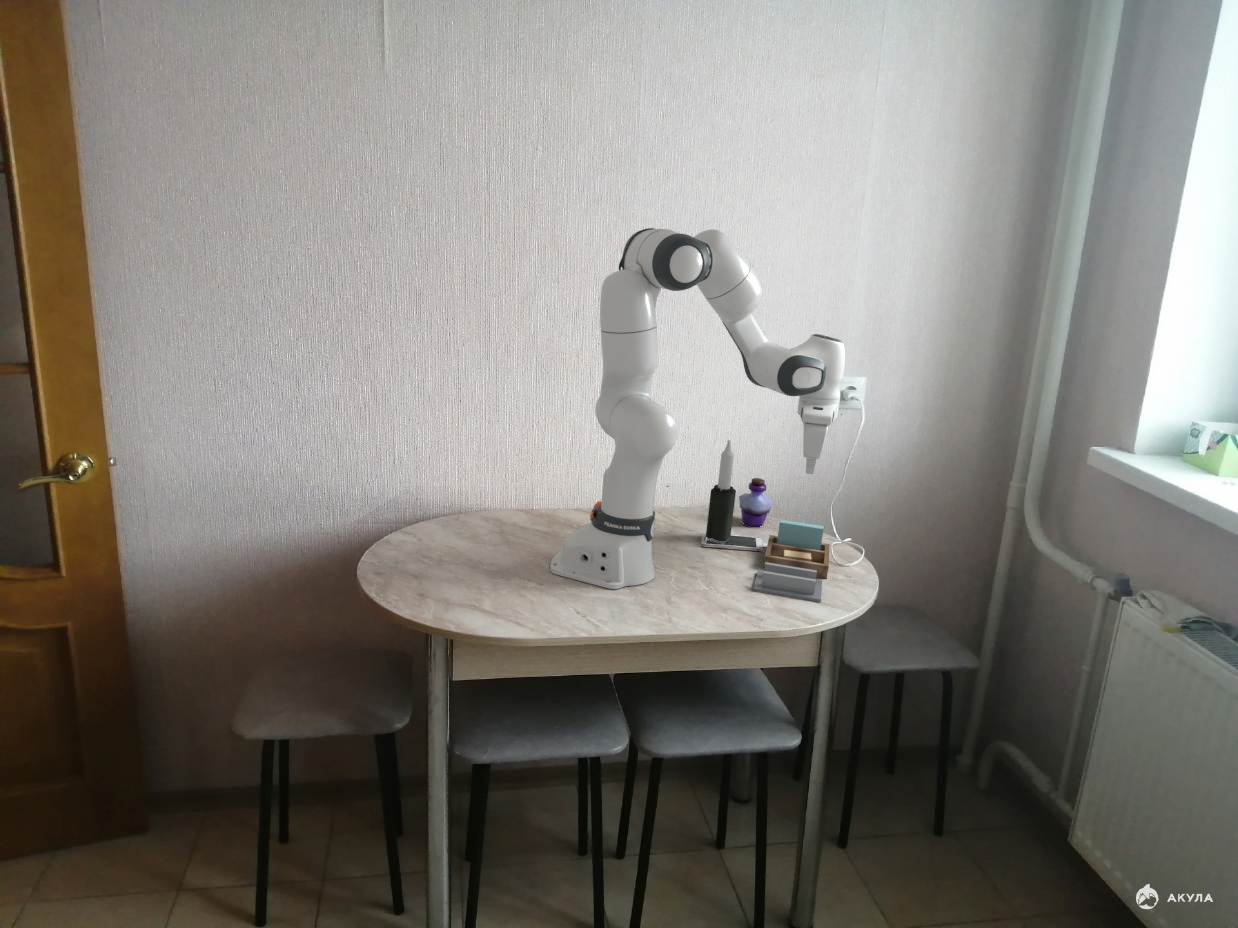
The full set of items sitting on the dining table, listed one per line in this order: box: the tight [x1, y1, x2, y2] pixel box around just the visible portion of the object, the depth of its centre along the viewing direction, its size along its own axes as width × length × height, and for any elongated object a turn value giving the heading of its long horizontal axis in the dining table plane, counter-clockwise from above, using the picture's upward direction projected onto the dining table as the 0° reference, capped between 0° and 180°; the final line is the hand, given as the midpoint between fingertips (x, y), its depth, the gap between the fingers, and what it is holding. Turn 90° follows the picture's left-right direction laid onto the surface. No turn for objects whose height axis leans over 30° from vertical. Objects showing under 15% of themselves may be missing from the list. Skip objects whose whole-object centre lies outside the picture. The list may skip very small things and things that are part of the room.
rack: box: [762, 534, 831, 580], centre depth 203 cm, size 14×14×3 cm
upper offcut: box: [783, 550, 811, 562], centre depth 200 cm, size 6×4×2 cm, turn 81°
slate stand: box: [752, 562, 823, 603], centre depth 189 cm, size 14×10×4 cm
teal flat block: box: [777, 519, 825, 550], centre depth 206 cm, size 10×2×8 cm, turn 77°
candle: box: [705, 439, 737, 541], centre depth 209 cm, size 5×5×25 cm
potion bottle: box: [738, 477, 774, 528], centre depth 224 cm, size 9×9×12 cm
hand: (810, 467), depth 201 cm, fingers open, 8 cm apart
